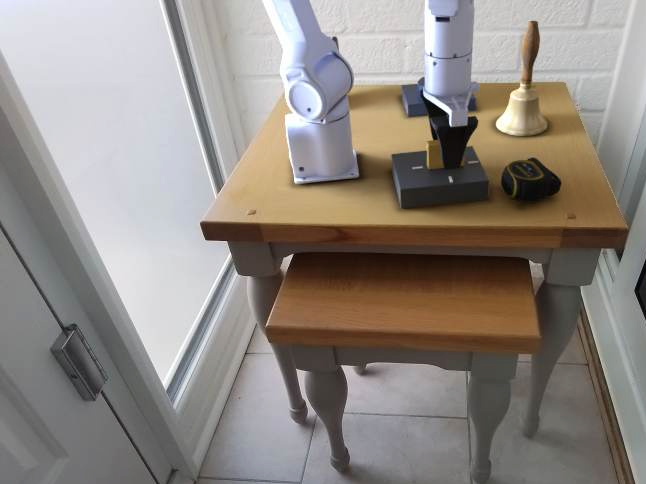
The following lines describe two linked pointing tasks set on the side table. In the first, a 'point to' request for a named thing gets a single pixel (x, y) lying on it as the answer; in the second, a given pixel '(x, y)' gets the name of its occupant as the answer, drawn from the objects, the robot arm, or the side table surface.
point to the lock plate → (438, 180)
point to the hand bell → (525, 93)
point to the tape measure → (529, 180)
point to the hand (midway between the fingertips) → (445, 153)
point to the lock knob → (435, 155)
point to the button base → (415, 102)
